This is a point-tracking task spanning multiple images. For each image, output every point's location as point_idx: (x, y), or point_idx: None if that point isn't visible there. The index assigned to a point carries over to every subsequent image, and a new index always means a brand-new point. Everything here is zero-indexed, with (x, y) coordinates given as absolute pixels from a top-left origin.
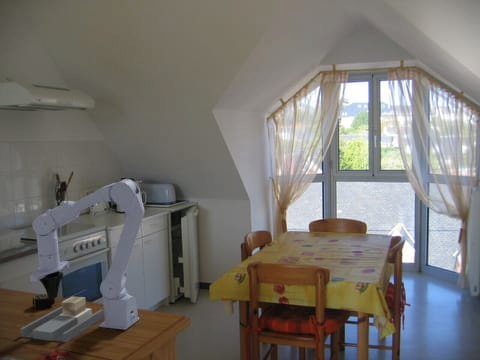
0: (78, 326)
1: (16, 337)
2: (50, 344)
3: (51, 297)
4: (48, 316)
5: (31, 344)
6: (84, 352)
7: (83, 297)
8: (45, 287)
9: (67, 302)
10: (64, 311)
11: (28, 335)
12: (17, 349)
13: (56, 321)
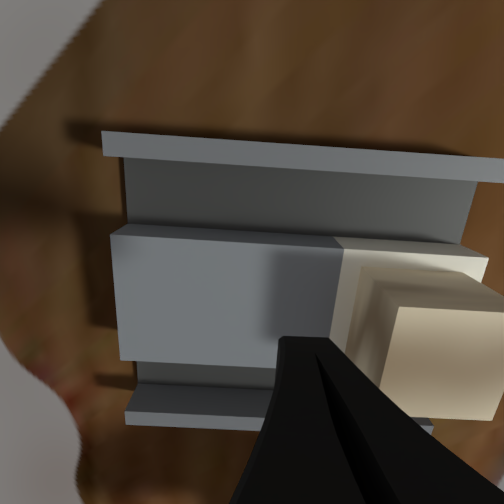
0: (226, 425)
1: (114, 106)
2: (107, 343)
3: (275, 375)
4: (343, 171)
5: (76, 259)
6: (97, 487)
7: (493, 409)
8: (258, 454)
9: (389, 356)
10: (366, 289)
11: (141, 177)
12: (9, 227)
13: (254, 295)
